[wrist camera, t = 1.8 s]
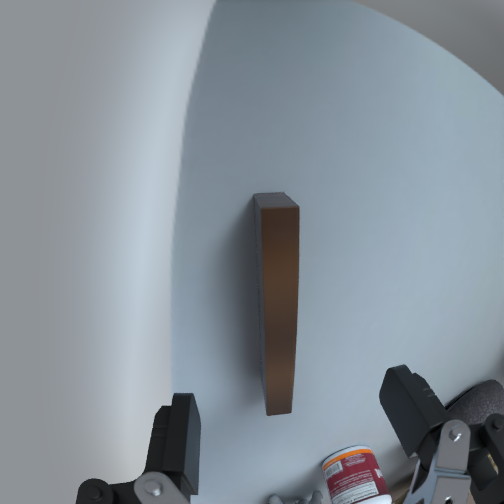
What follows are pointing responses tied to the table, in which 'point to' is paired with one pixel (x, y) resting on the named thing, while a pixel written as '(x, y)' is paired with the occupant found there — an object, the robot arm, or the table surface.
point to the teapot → (479, 403)
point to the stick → (277, 296)
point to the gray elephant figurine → (316, 500)
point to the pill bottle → (355, 477)
